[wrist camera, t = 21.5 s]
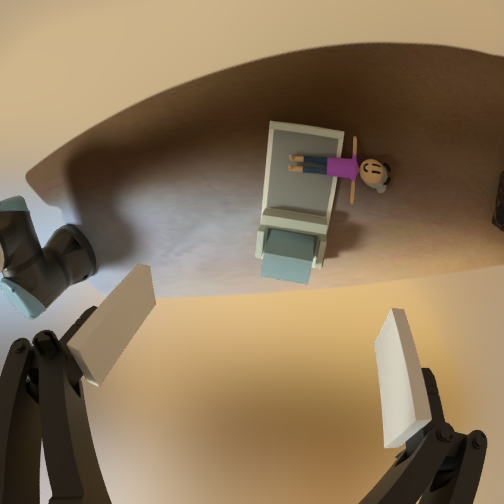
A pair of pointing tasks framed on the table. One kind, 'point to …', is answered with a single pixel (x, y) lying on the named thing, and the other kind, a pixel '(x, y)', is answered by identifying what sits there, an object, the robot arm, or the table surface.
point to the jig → (298, 185)
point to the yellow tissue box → (499, 205)
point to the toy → (346, 169)
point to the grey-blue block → (288, 257)
